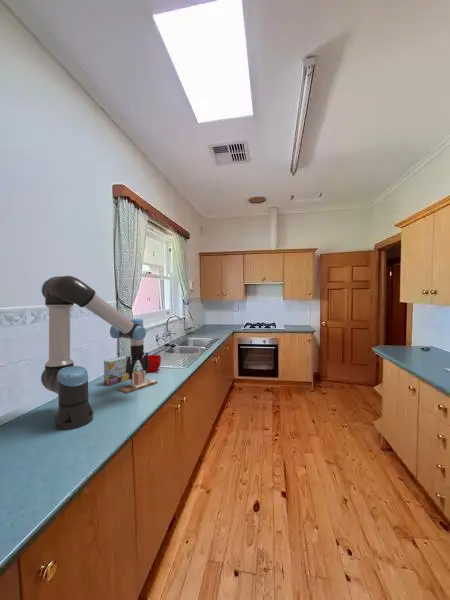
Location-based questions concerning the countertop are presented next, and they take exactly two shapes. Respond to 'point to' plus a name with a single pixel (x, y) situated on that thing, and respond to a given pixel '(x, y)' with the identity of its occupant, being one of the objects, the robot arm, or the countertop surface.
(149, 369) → the ceramic cup
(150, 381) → the board
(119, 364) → the snack box
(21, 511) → the countertop surface
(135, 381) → the stub
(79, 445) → the countertop surface
